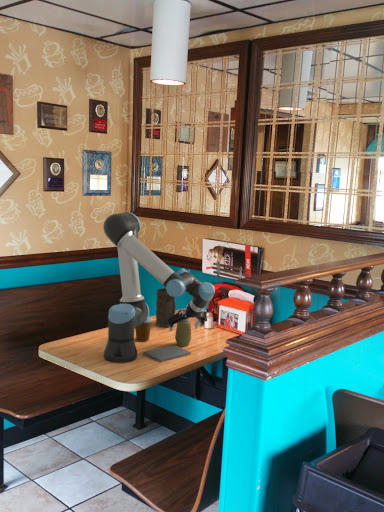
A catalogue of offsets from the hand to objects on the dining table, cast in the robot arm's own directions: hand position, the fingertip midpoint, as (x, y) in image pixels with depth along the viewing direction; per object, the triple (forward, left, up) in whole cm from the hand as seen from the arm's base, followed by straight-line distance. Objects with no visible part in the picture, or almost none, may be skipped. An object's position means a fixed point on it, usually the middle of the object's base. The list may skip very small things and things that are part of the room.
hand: (182, 328), depth 263 cm
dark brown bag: (+13, +28, -8) cm, 32 cm away
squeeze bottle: (-1, -1, -8) cm, 8 cm away
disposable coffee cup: (-13, +16, -8) cm, 22 cm away
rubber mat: (-16, -7, -8) cm, 19 cm away
